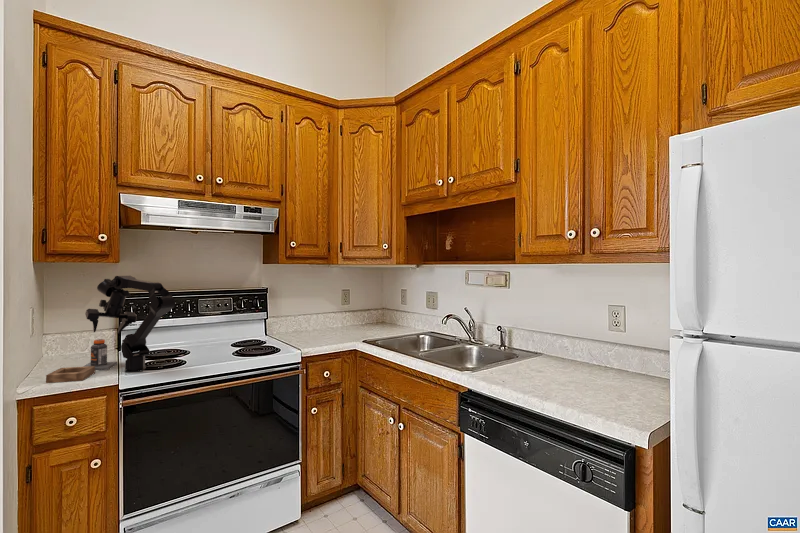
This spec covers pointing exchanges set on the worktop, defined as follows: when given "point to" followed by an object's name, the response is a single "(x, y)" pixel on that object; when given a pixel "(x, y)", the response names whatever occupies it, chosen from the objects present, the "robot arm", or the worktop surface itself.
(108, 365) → the rubber mat
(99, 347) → the pill bottle
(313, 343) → the worktop surface
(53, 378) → the bottle holder
